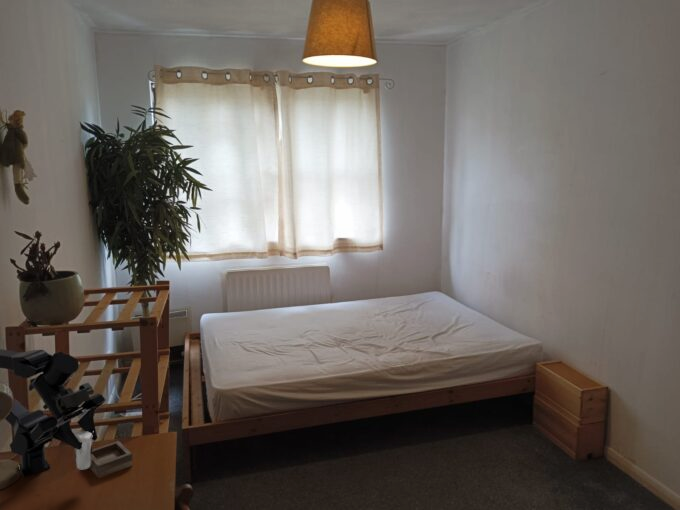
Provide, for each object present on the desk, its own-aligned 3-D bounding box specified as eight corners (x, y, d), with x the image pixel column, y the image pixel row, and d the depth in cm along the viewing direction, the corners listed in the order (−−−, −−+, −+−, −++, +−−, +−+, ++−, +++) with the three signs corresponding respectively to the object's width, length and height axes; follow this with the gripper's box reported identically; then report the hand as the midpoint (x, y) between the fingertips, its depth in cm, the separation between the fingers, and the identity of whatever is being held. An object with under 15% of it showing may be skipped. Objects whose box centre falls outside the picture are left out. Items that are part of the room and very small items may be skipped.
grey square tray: (86, 463, 146) (85, 451, 146) (118, 451, 153) (118, 440, 152) (98, 478, 140) (98, 466, 139) (132, 465, 146) (131, 453, 146)
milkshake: (89, 473, 133) (87, 436, 131) (70, 469, 134) (68, 433, 132) (100, 463, 137) (99, 427, 136) (82, 460, 138) (80, 424, 137)
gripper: (35, 391, 124) (72, 446, 122) (99, 364, 141) (132, 412, 139) (14, 415, 129) (50, 469, 127) (78, 386, 146) (110, 433, 144)
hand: (88, 444), depth 134 cm, fingers closed on milkshake, 4 cm apart
